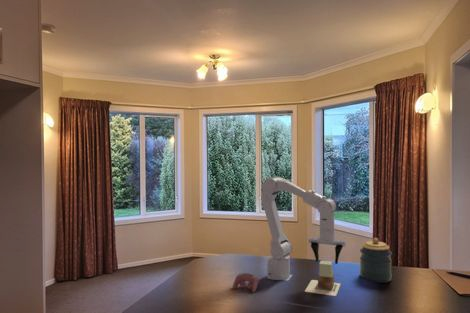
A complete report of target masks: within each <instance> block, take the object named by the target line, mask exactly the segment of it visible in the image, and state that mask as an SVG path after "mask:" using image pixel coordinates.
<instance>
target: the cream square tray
mask: <svg viewBox="0 0 470 313" xmlns="http://www.w3.org/2000/svg"><path fill="white" fill-rule="evenodd" d="M340 287H341V283H339V282H334V287H333V289H332V290H327V289H320V288H318V279H311V280H310V282H309V283H308V285H307V287H306V288H305V290H304V292H306V293H313V294H318V295H319V294H320V295H326V296H332V297H333V296H334V297H337V294H338V292H339V289H340Z"/></svg>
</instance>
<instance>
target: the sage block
mask: <svg viewBox="0 0 470 313" xmlns="http://www.w3.org/2000/svg"><path fill="white" fill-rule="evenodd" d="M318 268H319V269H318V272H319V273H318V275H319V276H323V277H331V276H332V273H333V261H329V260H320V262H319V267H318Z"/></svg>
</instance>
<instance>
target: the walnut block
mask: <svg viewBox="0 0 470 313" xmlns="http://www.w3.org/2000/svg"><path fill="white" fill-rule="evenodd" d="M317 281H318V288H320V289H327V290H332V289H333V287H334V283H335V273H334V272H332V276H331V277H323V276H319V274H318V275H317Z"/></svg>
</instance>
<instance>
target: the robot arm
mask: <svg viewBox="0 0 470 313" xmlns="http://www.w3.org/2000/svg"><path fill="white" fill-rule="evenodd" d="M261 189H262V190H261V191H262V192H261V203H262V206H263V210H264V212H265V217H266V220H267V224H268V228H269V231H270V234H271V239H270V242H269V244H270V256H269V257H268V259H267V266H266V267H267V268H266V269H267V274H266V275H267V277H266V279H267V280H275V281H279V280H280V281H289V280H290V279H291V278H292V276H293V274H290V273H291V272H290V271H291V269H290V267H291V265H290V264H291V262H290V261H291V260H290V259H291V257H290V256H291V253H292V251H293V245H292V243H291V242H290V241H289V238H288V236H287V235H286V234H285V232H284V229H283V226H282V223H281V219H280V216H279V212H278V207H277V204H276V201H275V199H276V197H278V196H277V195H279V193H280V192H283V191H286V192H288V193H291V194H293V195H294V196H297V197H299V198H301V199H302V201H303V203H304V204H306V205H309V206H310V207H312V208H314V209H315V210H317V211H318V212H319V237H309V238H308V244H310V248H311V249H312V251H313V253H314V258H315V262H319V257H320V256H319V248H320V245H329V246H334V252H335V260H334V263H335V265H338V262H339V258H340V255H341V251H342V249H343V247H344V248H346V245H347V244H346V240H341V239H337V238H335V211H336V208H337V203H336V201H335V200H333V199H332V198H331V197H328V198H326V196H325V195H321V194H319V193H317V191H316V190H315V189H312V190H310V189H309V190H305V189H303V188H302V187H299V186H298V185H296V184H294V183H293V182H291V181H289V180H288V179H286V178H283V177H281V176H275V177H269V178H266V179H265V180H263V183H262V184H261Z"/></svg>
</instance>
